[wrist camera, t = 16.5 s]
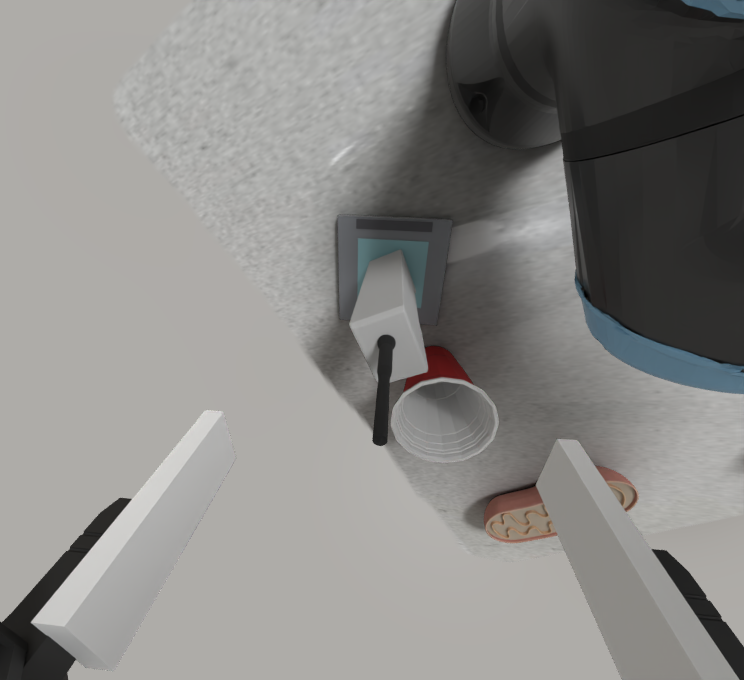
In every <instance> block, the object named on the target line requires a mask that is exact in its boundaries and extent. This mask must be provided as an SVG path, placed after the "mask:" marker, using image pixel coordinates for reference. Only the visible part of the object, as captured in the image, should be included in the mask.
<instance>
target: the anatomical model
mask: <svg viewBox="0 0 744 680" xmlns="http://www.w3.org/2000/svg"><path fill="white" fill-rule="evenodd" d="M595 467H596V468H597V470H598V471H599V473H600V474H601V476H602V477H603V479H604V480H605V482H606V483H607V485H608V486H609V487H610V489H611V490H612V492H613V493H614V495H615V496H616V498H617V499H618V501H619V502H620V504H621V505H622V507H623V508H624V510H625V511H626V512H628V511H629V510H630V509H632V508H633V507H634V506H635V505H636V503H637V501H638V499H639V495H638V491H637V490H636V488H635V487H634V486H633V484H632V483H631V482H630V481H629V480H628V479H626V478H625V477H624V476H622V475H621V474H619V473H617V472H616V471H614V470H611V469H609V468H605V467H600V466H595ZM484 525H485V530H486V532H487V534H488V535H489V536H490V537H491V538H493V539H495V540H497V541H500V542H505V543H520V542H527V541H532V540H538V539H543V538H548V537H553V536H557V535H558V534H557V532H556V530H555V528H554V525H553V523H552V521H551V519H550V516H549V514H548V512H547V509H546V507H545V505H544V503H543V500H542V498H541V496H540V494H539V491H538V489H537V487H536V486H535V487H532V488H529V489H525V490H521V491H516V492H512V493H508V494H504V495H500V496H497V497H495V498H494V499H493V500H491V501H490V503H489V504H488V505H487V507H486V510H485V514H484Z"/></svg>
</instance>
